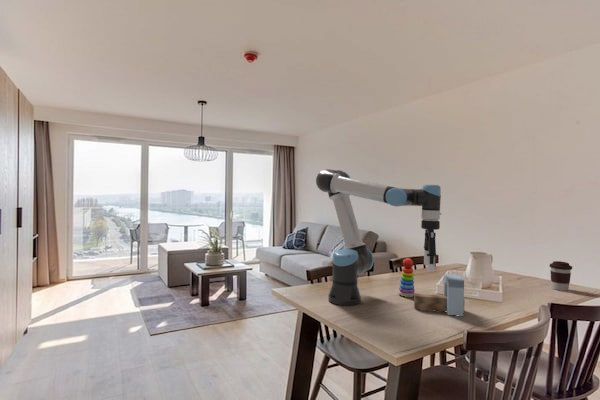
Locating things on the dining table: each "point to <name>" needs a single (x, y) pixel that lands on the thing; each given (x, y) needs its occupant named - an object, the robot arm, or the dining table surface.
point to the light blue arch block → (454, 294)
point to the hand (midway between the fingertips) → (428, 268)
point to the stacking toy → (407, 279)
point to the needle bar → (431, 302)
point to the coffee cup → (560, 275)
